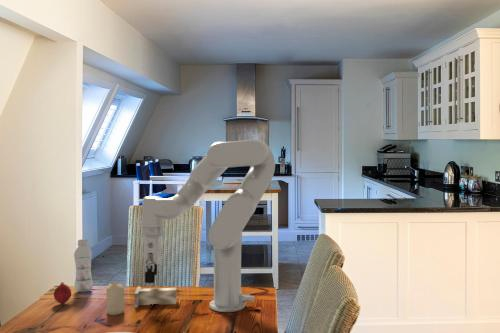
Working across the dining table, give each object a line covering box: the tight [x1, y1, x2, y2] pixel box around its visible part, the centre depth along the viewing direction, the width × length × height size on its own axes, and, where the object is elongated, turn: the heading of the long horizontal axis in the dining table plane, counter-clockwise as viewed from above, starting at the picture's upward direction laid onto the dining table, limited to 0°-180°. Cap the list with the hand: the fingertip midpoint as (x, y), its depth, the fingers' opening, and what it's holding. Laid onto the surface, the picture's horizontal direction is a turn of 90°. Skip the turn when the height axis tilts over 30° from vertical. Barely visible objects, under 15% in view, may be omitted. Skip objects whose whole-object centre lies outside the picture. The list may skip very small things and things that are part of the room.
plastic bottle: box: [73, 238, 94, 293], centre depth 186 cm, size 6×7×20 cm
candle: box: [106, 281, 125, 316], centre depth 164 cm, size 6×6×10 cm
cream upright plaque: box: [133, 286, 178, 309], centre depth 173 cm, size 14×8×5 cm, turn 96°
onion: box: [53, 281, 72, 305], centre depth 172 cm, size 6×6×8 cm
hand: (151, 278), depth 173 cm, fingers open, 9 cm apart
